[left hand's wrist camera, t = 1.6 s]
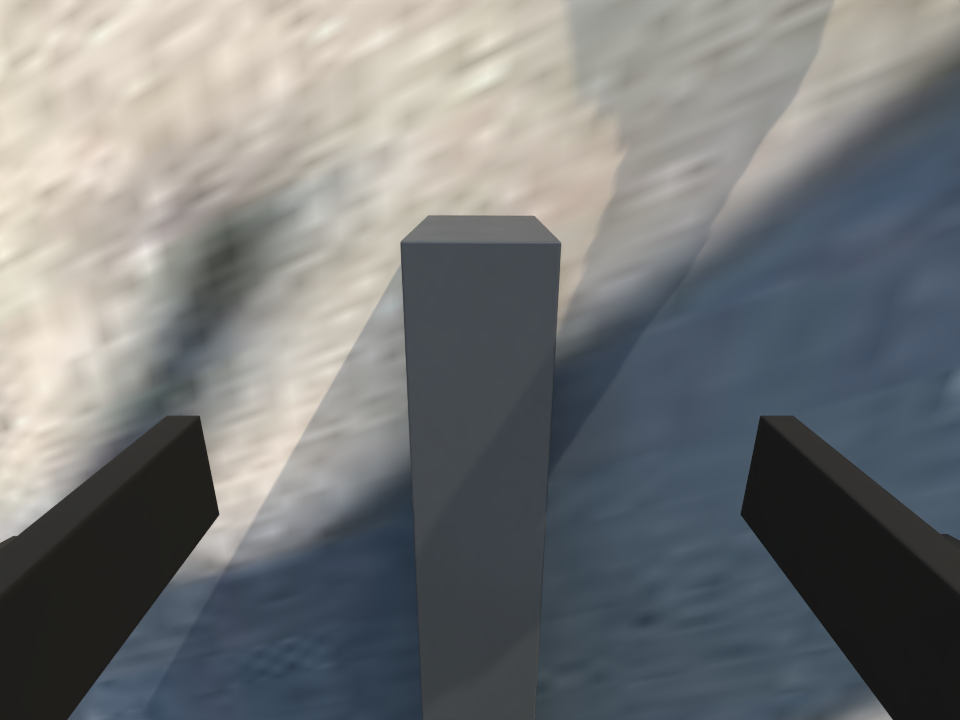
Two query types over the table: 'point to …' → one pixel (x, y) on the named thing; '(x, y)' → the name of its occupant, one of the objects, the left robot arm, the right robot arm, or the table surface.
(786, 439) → the left robot arm
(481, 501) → the post
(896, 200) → the table surface
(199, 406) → the table surface
